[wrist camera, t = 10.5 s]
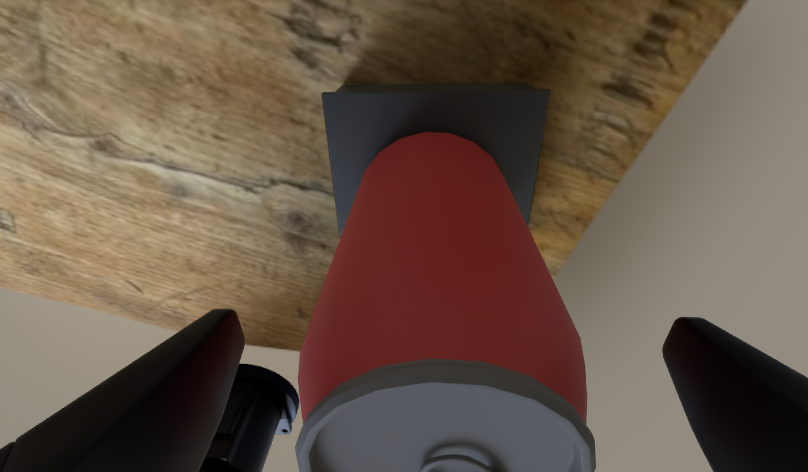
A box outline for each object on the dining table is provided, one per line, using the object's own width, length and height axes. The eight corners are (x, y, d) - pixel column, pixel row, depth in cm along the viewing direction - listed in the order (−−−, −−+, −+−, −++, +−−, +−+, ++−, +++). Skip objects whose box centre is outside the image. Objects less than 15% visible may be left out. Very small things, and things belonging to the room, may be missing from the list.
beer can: (424, 281, 20) (425, 576, 10) (329, 194, 17) (195, 460, 7) (534, 205, 17) (696, 494, 7) (440, 92, 15) (476, 276, 5)
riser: (507, 243, 22) (519, 276, 19) (353, 243, 23) (344, 275, 20) (531, 77, 18) (550, 90, 15) (336, 80, 18) (321, 93, 15)
